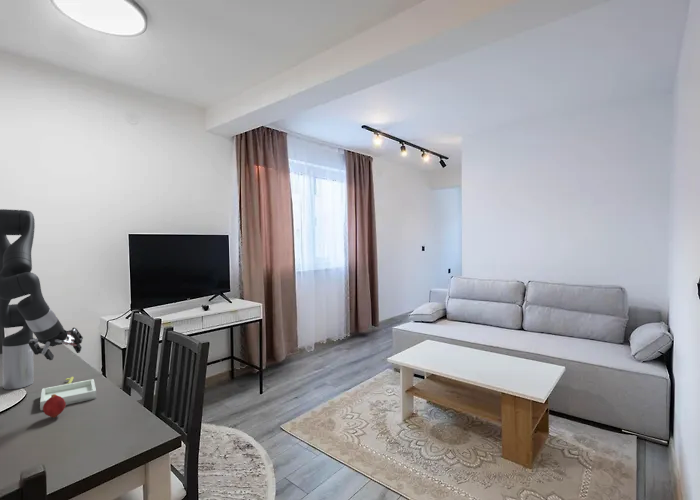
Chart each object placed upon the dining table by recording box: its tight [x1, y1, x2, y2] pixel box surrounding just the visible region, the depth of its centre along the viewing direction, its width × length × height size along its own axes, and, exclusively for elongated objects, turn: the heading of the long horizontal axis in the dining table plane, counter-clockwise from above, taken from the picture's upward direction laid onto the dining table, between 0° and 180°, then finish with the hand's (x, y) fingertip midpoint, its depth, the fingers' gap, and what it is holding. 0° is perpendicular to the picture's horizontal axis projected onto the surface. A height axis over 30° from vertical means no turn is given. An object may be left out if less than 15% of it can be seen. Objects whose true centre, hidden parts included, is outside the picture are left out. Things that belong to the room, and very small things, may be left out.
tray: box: [39, 378, 97, 411], centre depth 136 cm, size 14×16×3 cm
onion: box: [42, 394, 67, 419], centre depth 121 cm, size 6×6×8 cm
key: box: [65, 376, 75, 384], centre depth 146 cm, size 7×12×2 cm, turn 45°
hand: (65, 354), depth 131 cm, fingers open, 8 cm apart
